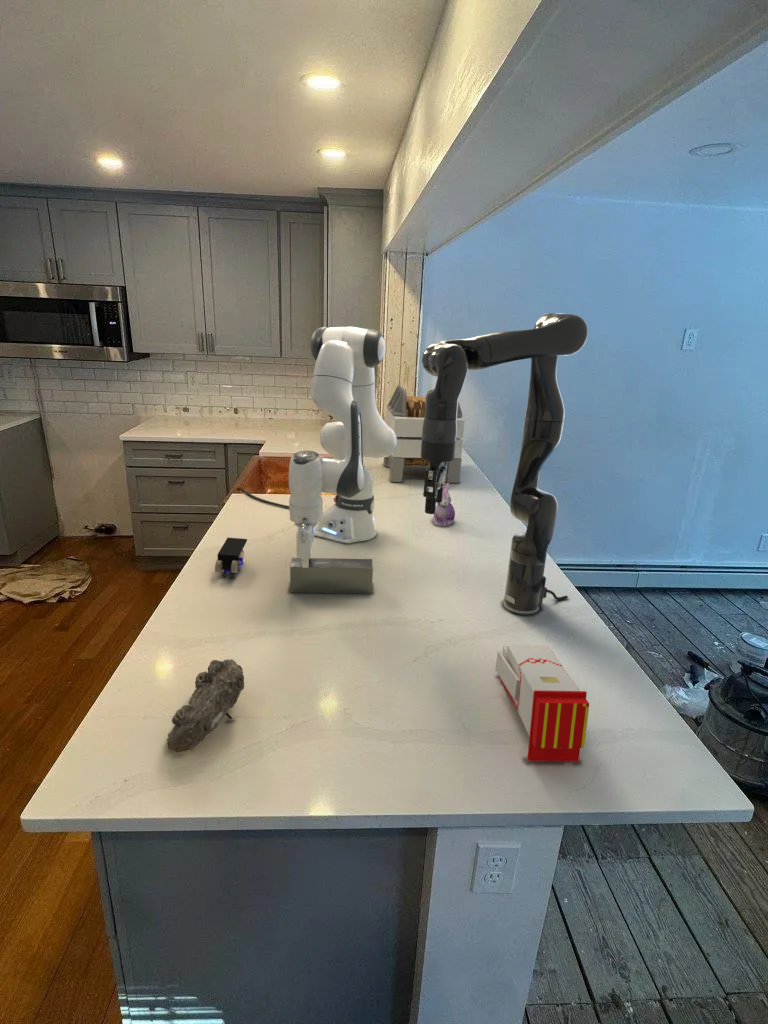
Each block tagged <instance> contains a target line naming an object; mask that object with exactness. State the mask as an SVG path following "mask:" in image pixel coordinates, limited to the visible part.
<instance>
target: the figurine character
mask: <svg viewBox="0 0 768 1024" xmlns="http://www.w3.org/2000/svg"><path fill="white" fill-rule="evenodd" d="M247 542H248V538H240V537H226V539H225V541H224V543H223V544H222V546H221V547H220V549H219V551H218V552H217V560H216V562H215V564H214V572H215V573H221V577H222V578H224V577H225V576H226V574H227V573H230V574H231V573H232V574H231V578H234V577H235V575H236V573H237V572H239V571H240V567H242V566H243V565H244V564H245V562H244V558H245V551H244V547H245V546H246V544H247Z"/></svg>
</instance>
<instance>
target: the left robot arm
mask: <svg viewBox="0 0 768 1024" xmlns="http://www.w3.org/2000/svg"><path fill="white" fill-rule="evenodd" d="M385 353H386V342H385V337H384V335H383V334H382V332H381V331H379V330H377V329H374V328H363V327H358V326H357V327H356V326H333V327H329V326H322V327H317V328H316V330H315V331H313V333H312V335H311V339H310V354H311V355H312V358H313V359H314V360H315V363H314V368H313V373H312V380H311V385H310V386H311V388H310V395H311V399H312V401H313V403H314V404H315V406H316V407H317V408H318V409H319V410H321V411H322V412H324V413H325V414H327V415H328V416H331V417H333V418H334V419H336V420H338V421H331V422H327V423H325V424H324V425H323V427H321V430H320V432H319V442H320V445H321V447H322V449H323V450H324V451H325V452H326V453H327V454H328V455H329V456H330V457H325V456H320V454H319V453H318V452H316V451H314V450H300V451H297V452H295V453H293V454H292V455H291V457H290V460H289V466H288V489H289V494H290V495H289V499H288V505H285V504H282V503H279V502H273V501H269V500H266V499H263V498H260V497H259V496H258V497H257V496H256V495H254V494H252V493H250V492H248V491H246V490H245V489H244V488H242V487H237V488H236V491H241V492H242V493H244V494H245V495H247V496H249V497H251V498H252V499H255V500H257V501H260V502H262V503H266V504H269V505H274V506H276V507H282V508H286V509H288V510H289V511H288V514H289V515H288V516H289V520H290V521H291V522H293V523H294V526H295V527H297V530H296V558H301V561H302V567H303V568H308V567H309V558H312V551H313V544H314V538H315V537H319V538H323V539H326V540H330V541H336V542H339V543H343V544H352V543H357V542H365V541H368V540H372V539H373V538H375V537H376V535H377V532H376V528H375V523H374V522H375V518H374V513H373V512H374V509H375V496H374V474H373V472H372V471H371V469H369V467H367V466H365V465H364V458H370V459H371V458H372V459H379V458H382V459H384V457H389V456H390V455H391V454H392V453H393V452H394V450H395V448H396V445H397V438H396V435H395V432H394V431H393V429H392V428H390V427H389V426H388V425H387V423H386V421H385V420H384V419H383V418H382V417H381V414H380V412H379V410H378V406H377V401H376V400H377V399H376V374H375V373H376V372H375V367H377V366H378V365H379V364H381V363H382V362H383V360H384V356H385ZM322 493H323V494H331V495H335V496H334V497H333V502H334V504H333V505H331V506H329V507H328V508H326V509H325V510H323V503H324V502H323V501H324V500H323V497H322Z"/></svg>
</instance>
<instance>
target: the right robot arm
mask: <svg viewBox="0 0 768 1024" xmlns="http://www.w3.org/2000/svg"><path fill="white" fill-rule="evenodd" d="M588 329H589V328H588V326H587V323H586V321H585V320H584V318H582V317H581V316H579V315H578V314H573V313H564V312H563V313H562V312H548V313H544V314H542V315H541V316H540V317H538V319H537V321H536V322H535V324H534V327H533V328H527V329H518V330H516V329H515V330H505V331H503V330H502V331H497V332H496V331H495V332H490V333H485V334H481V335H476V336H474V337H469V338H460V339H450V340H449V339H448V340H441V341H437V342H434V343H432V344H430V345H429V346H428V347H427V348H425V349H424V351H423V353H422V356H421V364H422V367H423V369H424V370H425V371H426V372H427V373H428V374H429V375H431V376H434V377H436V383H435V387H434V388H432V389H430V390H428V391H427V393H426V396H425V397H426V401H425V417H424V422H423V428H422V443H421V458H422V459H424V460H427V461H429V462H430V464H429V465H428V466H426V469H425V470H424V482H423V493H422V496H423V498H425V503H424V504H425V505H424V513H425V514H426V515H427V514H428V515H434V513H435V508H436V506H437V503H441V502H442V496H443V488H444V487H445V486H446V482H447V481H446V472H447V462H450V461H452V460H454V458H455V447H456V435H457V410H458V402H459V398H460V396H461V393H462V391H463V387H464V384H465V381H466V377H467V375H468V371H469V370H471V371H480V370H485V369H488V368H494V367H497V366H498V367H499V366H501V365H505V364H509V363H514V362H519V361H522V360H528V359H530V377H529V385H528V394H527V404H526V409H525V417H524V422H523V428H522V439H521V447H520V451H519V452H520V453H519V459H518V463H517V469H516V470H517V471H516V474H515V478H514V481H513V487H512V490H511V494H510V500H509V508H510V513H511V515H512V516H513V518H514V519H517V520H518V521H521V522H522V523H525V524H527V526H526V529H525V531H524V532H518V533H516V534H514V535H513V536H512V538H511V542H510V551H509V560H508V567H507V574H506V582H505V590H504V598H503V601H502V602H503V603H502V604H503V607H504V608H505V609H506V610H508V611H509V612H512V613H514V614H517V615H525V616H529V615H533V614H536V613H537V612H539V611H540V610H542V608H543V601H544V599H546V598H547V594H550V595H552V597H553V598H554V599H555V600H557V601H562V600H565V599H568V595H563V596H559V597H558V596H557V595H556V593H555V592H554V591H553V590H550V589H548V588H547V587H546V581H547V576H545V575H544V574H545V568H546V561H547V554H548V548H549V545H550V543H551V541H552V539H553V536H554V530H555V527H556V521H557V518H558V517H557V516H558V511H559V510H558V509H559V503H558V500H557V498H556V496H555V495H553V494H552V493H550V492H547V491H545V490H542V489H540V488H539V480H540V475H541V472H542V468H543V466H544V464H545V463H546V461H547V460H548V459H549V458H550V456H551V455H552V454H553V452H554V451H555V450H556V448H558V445H559V444H560V442H561V439H562V436H563V429H564V423H565V415H566V413H565V412H566V411H565V405H564V400H563V396H562V394H561V391H560V388H559V384H558V378H557V368H558V360H559V357H560V356H561V357H566V356H568V357H569V356H572V355H575V354H577V353H578V352H579V351H581V350H582V348H583V347H584V346H585V345H586V342H587V339H588V335H589V330H588ZM430 489H432V491H430Z"/></svg>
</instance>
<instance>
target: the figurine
mask: <svg viewBox="0 0 768 1024" xmlns="http://www.w3.org/2000/svg"><path fill="white" fill-rule="evenodd" d="M451 502H452V498H451V494H450V483H448V482H447V483H445V485H444V487H443V496H442V502H441V503H437V502H436V508H435V513H434V514H433V518H432V523H434V525H435V526H440V527H445V526H450V525H452V524H453V523H454V521H455V517H456V511H455V508H454V506H453V504H452V503H451Z"/></svg>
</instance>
